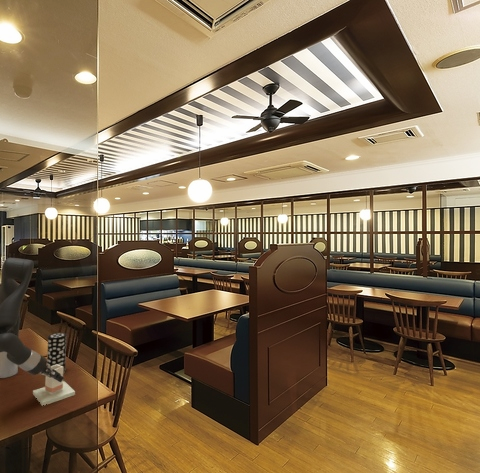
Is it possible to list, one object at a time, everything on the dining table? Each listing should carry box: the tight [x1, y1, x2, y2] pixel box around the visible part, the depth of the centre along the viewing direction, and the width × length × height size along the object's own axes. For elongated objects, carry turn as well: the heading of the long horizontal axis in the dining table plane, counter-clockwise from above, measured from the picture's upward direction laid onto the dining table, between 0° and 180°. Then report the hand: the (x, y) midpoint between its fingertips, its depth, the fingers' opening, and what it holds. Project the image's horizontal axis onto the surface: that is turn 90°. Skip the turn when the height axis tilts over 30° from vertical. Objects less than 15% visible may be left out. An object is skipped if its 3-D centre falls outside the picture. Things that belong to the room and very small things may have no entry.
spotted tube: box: [46, 332, 67, 375], centre depth 158 cm, size 8×8×20 cm
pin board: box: [32, 380, 76, 407], centre depth 137 cm, size 14×13×8 cm
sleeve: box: [44, 364, 64, 393], centre depth 137 cm, size 5×5×10 cm
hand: (58, 378), depth 139 cm, fingers closed on sleeve, 5 cm apart
